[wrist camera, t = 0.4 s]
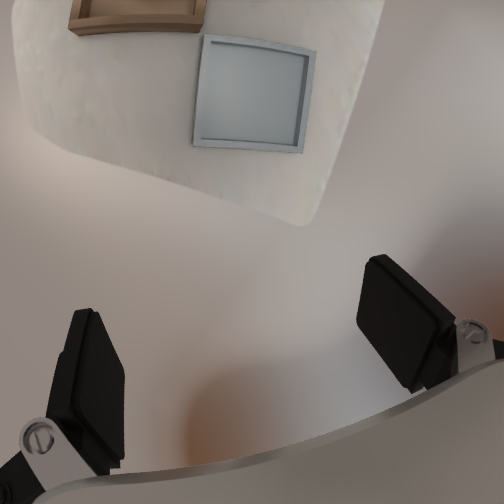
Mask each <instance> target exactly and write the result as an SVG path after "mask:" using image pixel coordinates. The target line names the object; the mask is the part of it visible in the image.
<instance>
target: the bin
mask: <svg viewBox="0 0 504 504" xmlns="http://www.w3.org/2000/svg"><path fill="white" fill-rule="evenodd" d="M206 1H207V0H73V3H72V8H71V13H70V19H69V25H68V29H69V30H70V31H72V32H73V33H75V34H76V35H78V36H84V35H94V34H105V33H119V32H150V31H162V32H192V33H199V32H200V29H201V27H202V25H203V21H204V14H205V7H206Z"/></svg>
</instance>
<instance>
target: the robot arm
mask: <svg viewBox="0 0 504 504" xmlns="http://www.w3.org/2000/svg"><path fill="white" fill-rule="evenodd" d="M455 318H456V317H455V316H454V315H453V314H452V313H451V312H450V311H449V310H448V309H446V308H445V307H444V306H443V305H442V304H441V303H440V302H439V301H438V300H437V299H436V298H435V297H434V296H432V295H431V294H430V293H429V292H428V291H427V290H426V289H425V288H424V287H423V286H422V285H420V284H419V283H418V282H417V281H416V280H415V279H413V277H411V276H410V275H409V274H408V273H407V272H406V271H405V270H404V269H402V268H401V267H400V266H399V265H398V264H396V263H395V262H394V261H393V260H392V259H391V258H389V257H388V256H387V255H386V254H382V255H378V256H373V257H371V258H370V259H369V262H367V263H366V265H365V271H364V278H363V285H362V290H361V295H360V301H359V306H358V312H357V317H356V322H357V325H358V327H359V328H360V330H361V331H362V332H363V334H364V335H365V336H366V338H367V339H368V340H369V342H370V343H371V344H372V346H373V347H374V348H375V350H376V351H377V352H378V354H379V355H380V356H381V358H382V359H383V360H384V362H385V363H386V364H387V366H388V367H389V369H390V370H391V371H392V372H393V374H394V375H395V377H396V378H397V379H398V381H399V382H400V384H401V385H402V386H403V387H404V388H408V390H409V391H410V393H411V394H413V393H415V392H417V391H419V390H421V389H422V388H423V387H425V388H426V389H427V391H425V392H423V393H421V394H419V395H417V396H415V397H413V398H411V399H409V400H407V401H405V402H403V403H401V404H399V405H396V406H394V407H392V408H390V409H388V410H385V411H383V412H381V413H378V414H376V415H374V416H371V417H369V418H366V419H364V420H361V421H359V422H356V423H354V424H351V425H349V426H346V427H343V428H341V429H338V430H335V431H332V432H329V433H326V434H324V435H321V436H318V437H315V438H311V439H308V440H305V441H302V442H299V443H296V444H292V445H288V446H285V447H282V448H278V449H274V450H270V451H266V452H262V453H258V454H254V455H250V456H245V457H241V458H236V459H232V460H226V461H221V462H216V463H210V464H204V465H198V466H191V467H184V468H176V469H169V470H160V471H151V472H140V473H127V474H116V475H110V469H113V468H120V460H123V459H124V456H125V453H124V384H125V373H124V369H123V366H122V364H121V362H120V360H119V358H118V355H117V353H116V351H115V349H114V347H113V345H112V342H111V340H110V338H109V336H108V333H107V331H106V329H105V326H104V324H103V322H102V319H101V317H100V315H99V313H98V312H94V311H93V310H92V309H91V308H88V309H81V310H76V311H75V312H74V314H73V318H72V321H71V325H70V328H69V332H68V335H67V339H66V342H65V346H64V350H63V352H61V353H60V355H59V358H58V361H57V365H56V369H55V373H54V378H53V382H52V387H51V391H50V396H49V401H48V406H47V412H46V417H45V418H44V417H39V418H34V419H32V420H31V421H29V422H28V423H27V424H26V425H25V426H24V427H23V428H22V430H21V432H20V436H19V446H20V449H21V451H20V452H18V453H17V454H16V455H15V456H14V457H13V458H11V459H10V460H9V461H8V462H7V463H6V464H4V465H3V466H2V467H1V468H0V504H504V342H502V341H498V340H494V339H492V336H491V333H490V330H489V329H488V328H487V327H486V326H485V325H484V324H483V323H481V322H479V321H477V320H474V319H464V320H461V321H460V322H459V323H458V324H457V326H456V325H455V324H454V321H455Z"/></svg>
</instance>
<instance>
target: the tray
mask: <svg viewBox="0 0 504 504" xmlns="http://www.w3.org/2000/svg"><path fill="white" fill-rule="evenodd" d="M315 59H316V51H313V50H308V49H304V48H300V47H295V46H290V45H285V44H280V43H274V42H269V41H262V40H256V39H249V38H242V37H234V36H225V35H214V34H204V36H203V39H202V46H201V54H200V63H199V72H198V81H197V91H196V101H195V112H194V124H193V136H192V145H193V146H198V147H223V148H241V149H256V150H269V151H280V152H291V153H300V154H303V148H304V141H305V134H306V127H307V120H308V113H309V106H310V99H311V91H312V83H313V76H314V68H315Z"/></svg>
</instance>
